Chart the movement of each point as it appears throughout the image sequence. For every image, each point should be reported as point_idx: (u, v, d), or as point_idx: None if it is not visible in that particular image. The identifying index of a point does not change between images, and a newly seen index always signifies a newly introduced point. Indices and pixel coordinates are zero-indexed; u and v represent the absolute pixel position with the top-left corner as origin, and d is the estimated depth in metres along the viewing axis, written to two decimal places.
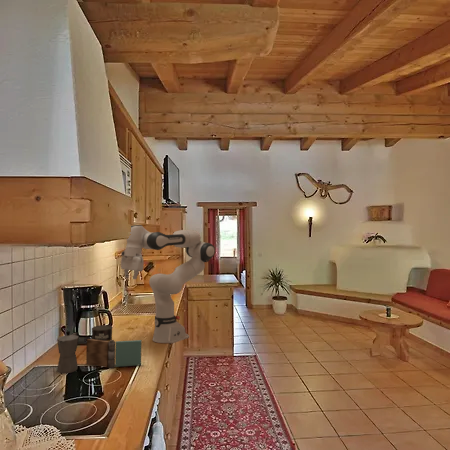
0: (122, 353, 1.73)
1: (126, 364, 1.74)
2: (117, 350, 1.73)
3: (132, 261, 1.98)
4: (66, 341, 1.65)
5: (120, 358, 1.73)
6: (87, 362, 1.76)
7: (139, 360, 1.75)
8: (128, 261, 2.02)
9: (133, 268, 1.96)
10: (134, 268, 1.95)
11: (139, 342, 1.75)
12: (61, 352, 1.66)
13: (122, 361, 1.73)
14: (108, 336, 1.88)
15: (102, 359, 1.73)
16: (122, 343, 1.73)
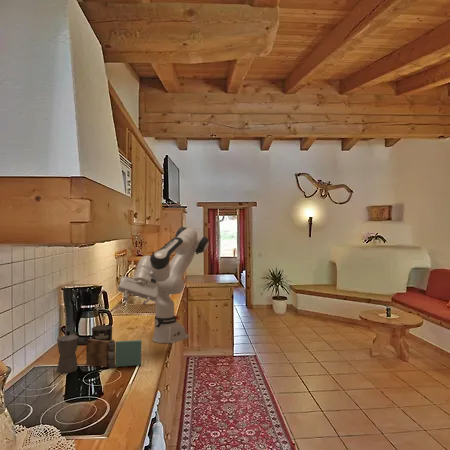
0: (122, 353, 1.73)
1: (126, 364, 1.74)
2: (117, 350, 1.73)
3: None
4: (66, 341, 1.65)
5: (120, 358, 1.73)
6: (87, 362, 1.76)
7: (139, 360, 1.75)
8: None
9: None
10: None
11: (139, 342, 1.75)
12: (61, 352, 1.66)
13: (122, 361, 1.73)
14: (108, 336, 1.88)
15: (102, 359, 1.73)
16: (122, 343, 1.73)
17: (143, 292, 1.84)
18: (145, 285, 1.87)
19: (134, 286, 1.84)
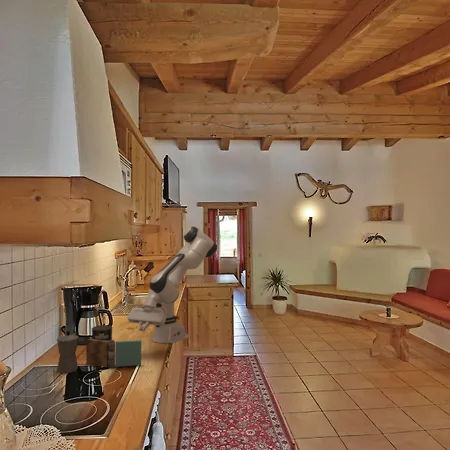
0: (122, 353, 1.73)
1: (126, 364, 1.74)
2: (117, 350, 1.73)
3: None
4: (66, 341, 1.65)
5: (120, 358, 1.73)
6: (87, 362, 1.76)
7: (139, 360, 1.75)
8: None
9: None
10: None
11: (139, 342, 1.75)
12: (61, 352, 1.66)
13: (122, 361, 1.73)
14: (108, 336, 1.88)
15: (102, 359, 1.73)
16: (122, 343, 1.73)
17: (148, 319, 1.84)
18: (152, 311, 1.88)
19: (141, 315, 1.87)
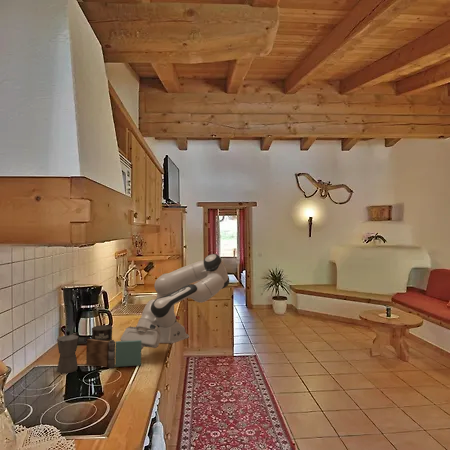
0: (122, 353, 1.73)
1: (126, 364, 1.73)
2: (117, 350, 1.73)
3: None
4: (66, 341, 1.65)
5: (120, 358, 1.73)
6: (87, 362, 1.76)
7: (139, 360, 1.75)
8: None
9: None
10: None
11: (139, 342, 1.75)
12: (61, 352, 1.66)
13: (122, 361, 1.73)
14: (108, 336, 1.88)
15: (102, 359, 1.73)
16: (122, 343, 1.73)
17: (142, 341, 1.79)
18: (145, 333, 1.82)
19: (134, 336, 1.82)
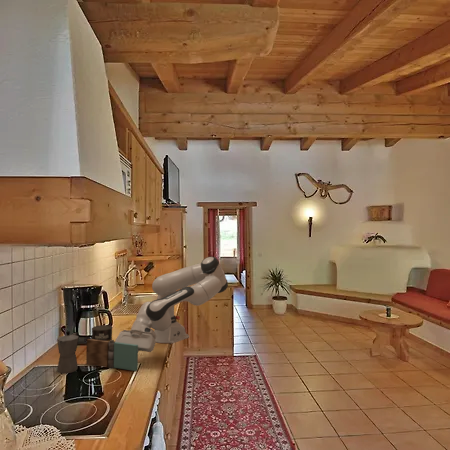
0: (119, 355, 1.71)
1: (123, 367, 1.70)
2: (115, 351, 1.71)
3: None
4: (66, 341, 1.65)
5: (118, 360, 1.71)
6: (87, 362, 1.76)
7: (134, 365, 1.68)
8: None
9: None
10: None
11: (134, 347, 1.68)
12: (61, 352, 1.66)
13: (119, 363, 1.70)
14: (108, 336, 1.88)
15: (102, 359, 1.73)
16: (119, 345, 1.71)
17: None
18: (140, 336, 1.76)
19: (128, 340, 1.76)
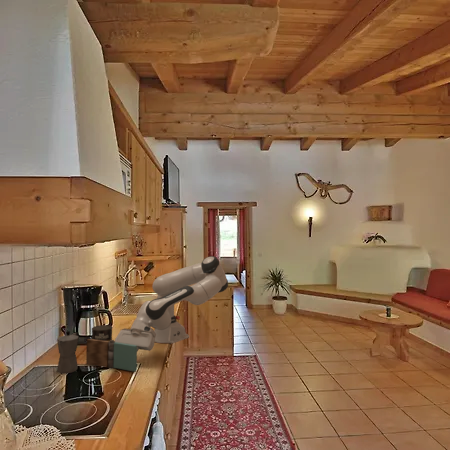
0: (119, 355, 1.70)
1: (122, 367, 1.69)
2: (115, 351, 1.71)
3: None
4: (66, 341, 1.65)
5: (117, 360, 1.71)
6: (87, 362, 1.76)
7: (133, 366, 1.67)
8: None
9: None
10: None
11: (133, 347, 1.67)
12: (61, 352, 1.66)
13: (119, 363, 1.70)
14: (108, 336, 1.88)
15: (102, 359, 1.73)
16: (119, 345, 1.70)
17: (136, 344, 1.75)
18: (139, 335, 1.78)
19: (128, 339, 1.78)
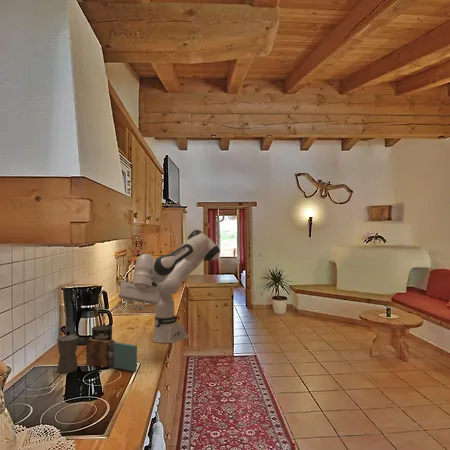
0: (119, 355, 1.70)
1: (122, 367, 1.69)
2: (115, 351, 1.71)
3: None
4: (66, 341, 1.65)
5: (117, 360, 1.71)
6: (87, 362, 1.76)
7: (133, 366, 1.67)
8: None
9: None
10: None
11: (133, 347, 1.67)
12: (61, 352, 1.66)
13: (119, 363, 1.70)
14: (108, 336, 1.88)
15: (102, 359, 1.73)
16: (119, 345, 1.70)
17: (145, 298, 1.80)
18: (146, 289, 1.82)
19: (135, 292, 1.79)
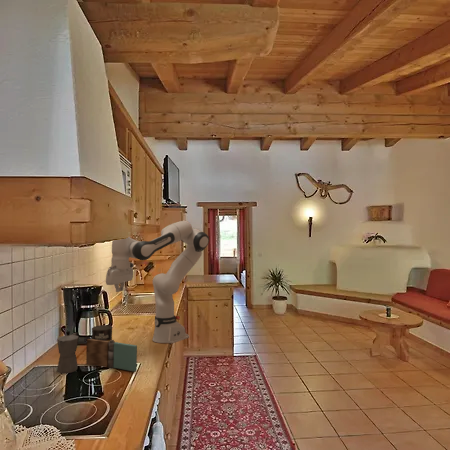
0: (119, 355, 1.70)
1: (122, 367, 1.69)
2: (115, 351, 1.71)
3: None
4: (66, 341, 1.65)
5: (117, 360, 1.71)
6: (87, 362, 1.76)
7: (133, 366, 1.67)
8: None
9: None
10: None
11: (133, 347, 1.67)
12: (61, 352, 1.66)
13: (119, 363, 1.70)
14: (108, 336, 1.88)
15: (102, 359, 1.73)
16: (119, 345, 1.70)
17: (125, 280, 1.94)
18: (125, 271, 1.94)
19: (119, 277, 1.89)
